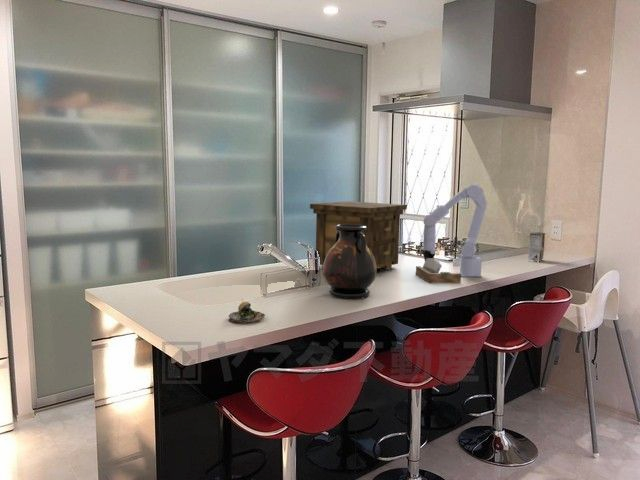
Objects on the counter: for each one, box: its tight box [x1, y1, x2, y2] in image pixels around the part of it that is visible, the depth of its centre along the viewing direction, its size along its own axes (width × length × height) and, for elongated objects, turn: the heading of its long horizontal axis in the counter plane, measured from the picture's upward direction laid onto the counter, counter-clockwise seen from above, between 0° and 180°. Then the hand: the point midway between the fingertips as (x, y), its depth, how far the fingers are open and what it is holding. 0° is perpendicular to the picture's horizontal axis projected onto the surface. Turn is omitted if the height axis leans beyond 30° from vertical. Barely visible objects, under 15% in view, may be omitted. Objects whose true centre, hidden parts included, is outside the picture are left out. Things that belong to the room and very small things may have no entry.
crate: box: [309, 200, 408, 270], centre depth 267 cm, size 35×35×33 cm
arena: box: [415, 265, 462, 284], centre depth 248 cm, size 15×20×5 cm
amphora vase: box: [322, 224, 378, 300], centre depth 210 cm, size 22×22×28 cm
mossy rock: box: [228, 299, 266, 325], centre depth 174 cm, size 12×12×8 cm
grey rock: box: [422, 257, 442, 273], centre depth 257 cm, size 8×9×10 cm
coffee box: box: [528, 231, 546, 262], centre depth 302 cm, size 9×6×16 cm
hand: (428, 266), depth 263 cm, fingers closed
